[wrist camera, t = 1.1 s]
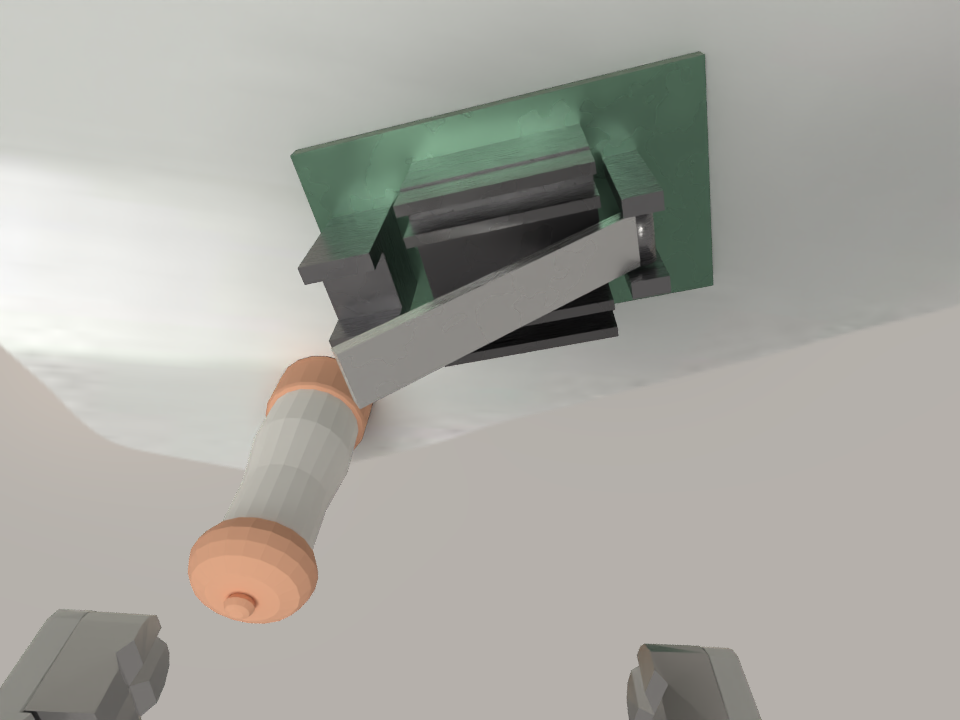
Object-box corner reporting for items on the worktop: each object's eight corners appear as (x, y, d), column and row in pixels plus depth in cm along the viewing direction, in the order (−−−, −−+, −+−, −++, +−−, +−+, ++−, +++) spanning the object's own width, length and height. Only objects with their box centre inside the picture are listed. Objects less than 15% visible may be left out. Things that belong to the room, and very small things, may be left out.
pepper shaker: (281, 424, 50) (173, 645, 34) (278, 349, 46) (154, 560, 30) (370, 436, 50) (306, 661, 34) (375, 363, 46) (305, 579, 30)
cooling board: (699, 51, 34) (749, 77, 27) (708, 277, 41) (750, 345, 34) (296, 150, 38) (246, 196, 31) (370, 340, 45) (344, 413, 38)
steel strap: (639, 200, 33) (657, 205, 32) (644, 252, 34) (662, 258, 33) (329, 345, 27) (338, 357, 26) (352, 398, 29) (362, 412, 28)
